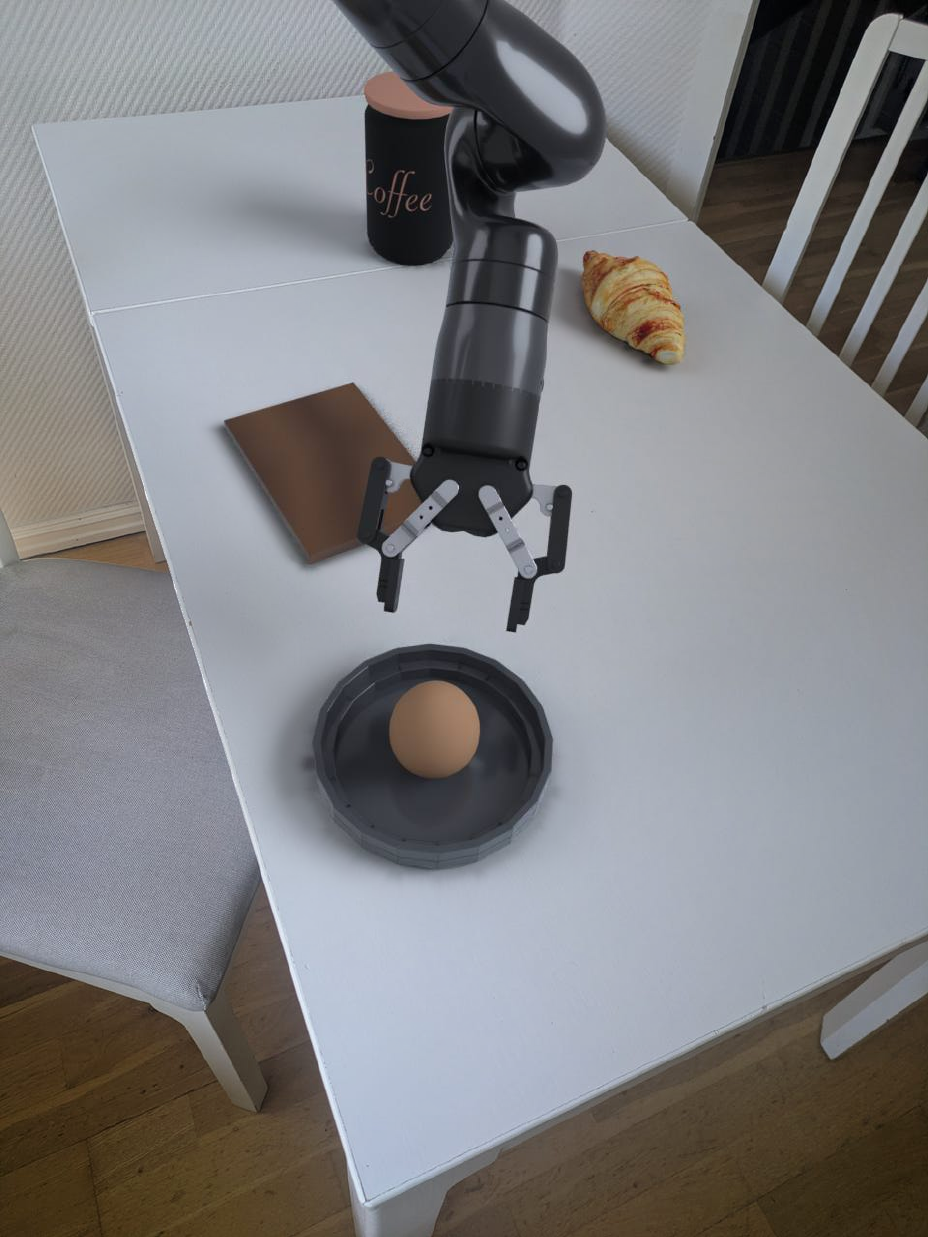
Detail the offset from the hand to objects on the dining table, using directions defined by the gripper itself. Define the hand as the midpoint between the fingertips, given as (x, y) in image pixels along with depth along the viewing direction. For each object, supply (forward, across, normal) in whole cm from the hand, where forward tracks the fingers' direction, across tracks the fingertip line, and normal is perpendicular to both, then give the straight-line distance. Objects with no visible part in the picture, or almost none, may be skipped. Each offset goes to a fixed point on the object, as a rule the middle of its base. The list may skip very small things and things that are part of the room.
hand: (450, 621), depth 63 cm
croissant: (-32, +12, +47) cm, 58 cm away
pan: (+11, 0, +4) cm, 12 cm away
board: (-10, -15, +24) cm, 30 cm away
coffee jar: (-39, -15, +54) cm, 68 cm away
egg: (+11, 0, +3) cm, 11 cm away
